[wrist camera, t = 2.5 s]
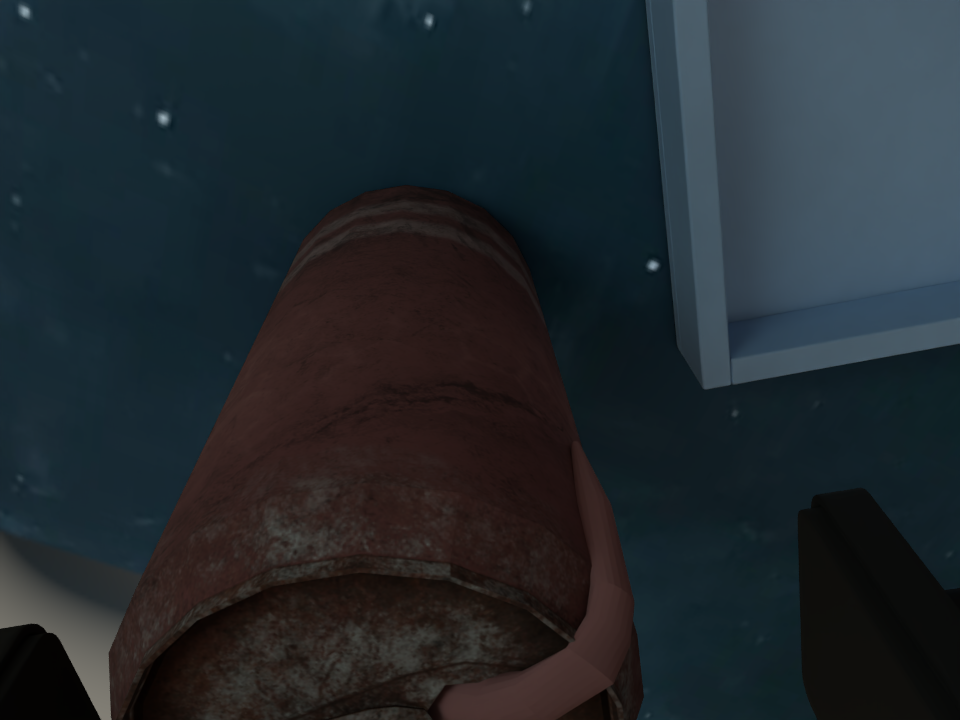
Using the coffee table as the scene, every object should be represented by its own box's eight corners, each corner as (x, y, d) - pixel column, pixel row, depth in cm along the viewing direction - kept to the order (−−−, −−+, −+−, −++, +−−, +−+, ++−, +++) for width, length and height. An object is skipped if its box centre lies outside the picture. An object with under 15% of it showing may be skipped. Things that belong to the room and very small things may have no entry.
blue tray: (676, 347, 22) (703, 391, 20) (631, -145, 18) (659, -159, 15) (1113, 267, 22) (1190, 302, 20) (1190, -259, 17) (1303, -293, 15)
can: (588, 291, 22) (799, 758, 9) (414, 445, 23) (388, 1019, 11) (416, 117, 20) (378, 403, 7) (240, 300, 21) (-47, 795, 9)
